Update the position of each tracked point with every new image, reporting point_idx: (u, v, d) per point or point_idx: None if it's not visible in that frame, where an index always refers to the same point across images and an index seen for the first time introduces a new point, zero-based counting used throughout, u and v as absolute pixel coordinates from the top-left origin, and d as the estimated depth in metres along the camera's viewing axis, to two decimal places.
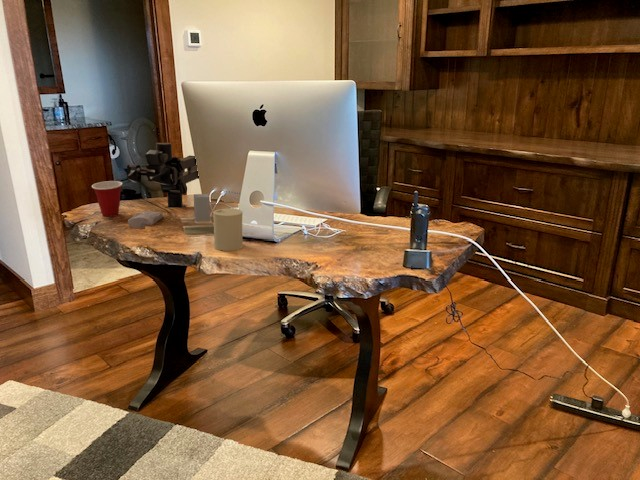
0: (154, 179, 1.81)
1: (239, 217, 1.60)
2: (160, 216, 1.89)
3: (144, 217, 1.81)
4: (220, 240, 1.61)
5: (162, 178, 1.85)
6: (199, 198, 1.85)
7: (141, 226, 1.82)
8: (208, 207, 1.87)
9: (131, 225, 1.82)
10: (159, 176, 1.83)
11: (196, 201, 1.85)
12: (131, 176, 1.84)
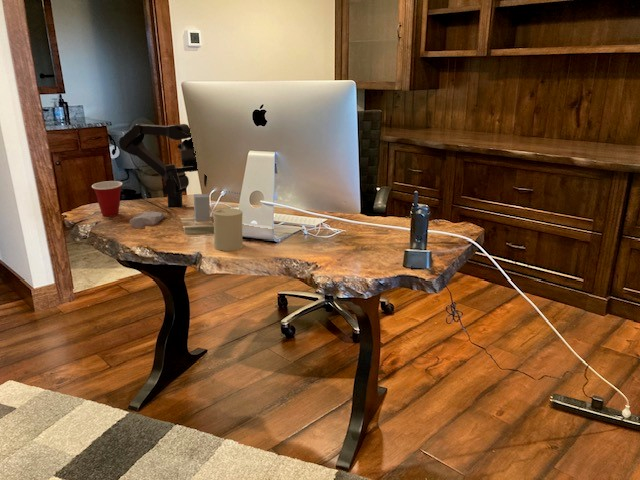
0: (206, 184, 1.93)
1: (239, 217, 1.60)
2: (162, 216, 1.89)
3: (146, 217, 1.81)
4: (220, 240, 1.61)
5: None
6: (199, 198, 1.85)
7: (143, 226, 1.82)
8: (208, 207, 1.87)
9: (133, 225, 1.82)
10: None
11: (196, 201, 1.85)
12: (180, 184, 1.92)
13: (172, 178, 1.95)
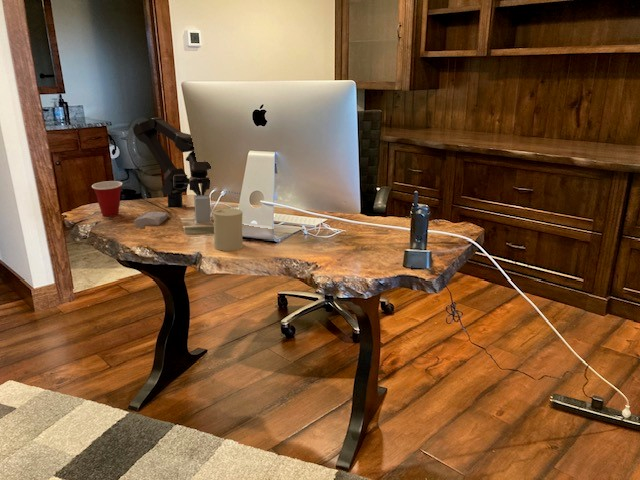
0: None
1: (239, 217, 1.60)
2: (166, 216, 1.89)
3: (150, 217, 1.81)
4: (220, 240, 1.61)
5: None
6: (200, 199, 1.83)
7: None
8: (209, 208, 1.85)
9: (137, 225, 1.81)
10: (204, 192, 1.90)
11: (197, 202, 1.83)
12: None
13: (191, 188, 1.92)
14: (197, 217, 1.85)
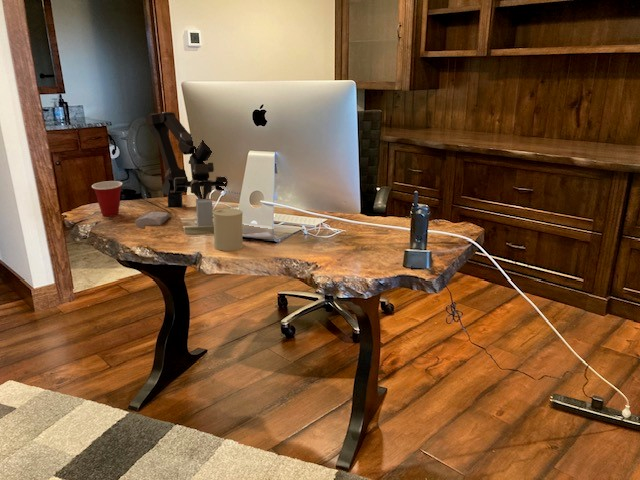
0: None
1: (239, 217, 1.60)
2: (167, 216, 1.89)
3: (152, 217, 1.81)
4: (220, 240, 1.61)
5: None
6: (202, 203, 1.78)
7: None
8: (211, 212, 1.80)
9: (139, 225, 1.81)
10: (206, 195, 1.85)
11: (198, 206, 1.78)
12: None
13: (192, 191, 1.87)
14: (199, 221, 1.80)
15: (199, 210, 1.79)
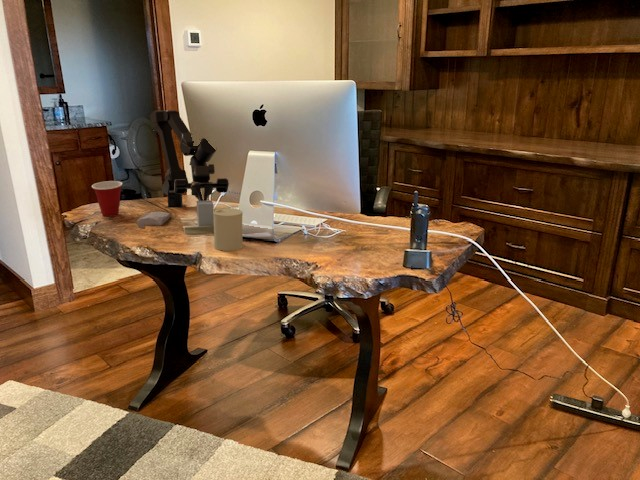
0: None
1: (239, 217, 1.60)
2: (168, 216, 1.89)
3: (153, 217, 1.81)
4: (220, 240, 1.61)
5: None
6: (202, 205, 1.76)
7: None
8: (212, 214, 1.78)
9: (140, 226, 1.81)
10: (206, 197, 1.83)
11: (199, 208, 1.76)
12: None
13: (193, 193, 1.85)
14: (200, 223, 1.78)
15: (200, 212, 1.76)
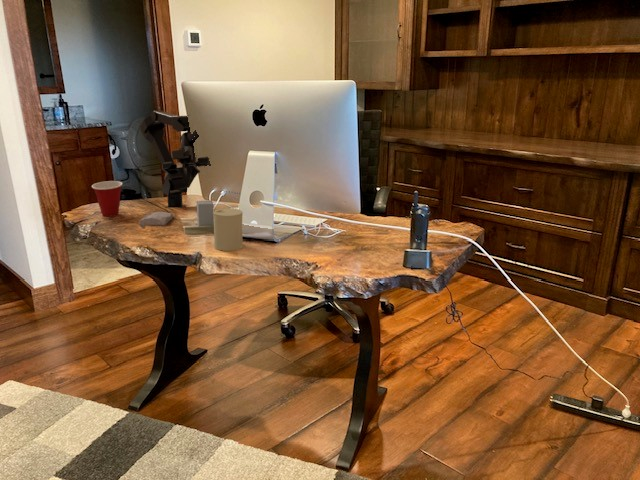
0: (188, 185, 1.89)
1: (239, 217, 1.60)
2: (171, 216, 1.89)
3: (156, 217, 1.81)
4: (220, 240, 1.61)
5: (191, 174, 1.90)
6: (202, 205, 1.76)
7: None
8: (212, 214, 1.78)
9: (143, 226, 1.81)
10: (190, 178, 1.89)
11: (199, 208, 1.76)
12: None
13: None
14: (200, 223, 1.78)
15: (200, 212, 1.76)
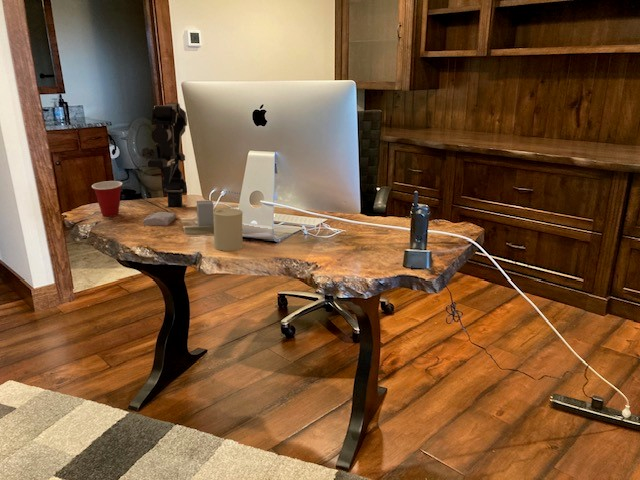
0: (167, 181, 1.92)
1: (239, 217, 1.60)
2: (174, 216, 1.89)
3: (159, 218, 1.81)
4: (220, 240, 1.61)
5: (166, 170, 1.90)
6: (202, 205, 1.76)
7: None
8: (212, 214, 1.78)
9: None
10: (164, 174, 1.91)
11: (199, 208, 1.76)
12: None
13: None
14: (200, 223, 1.78)
15: (200, 212, 1.76)
